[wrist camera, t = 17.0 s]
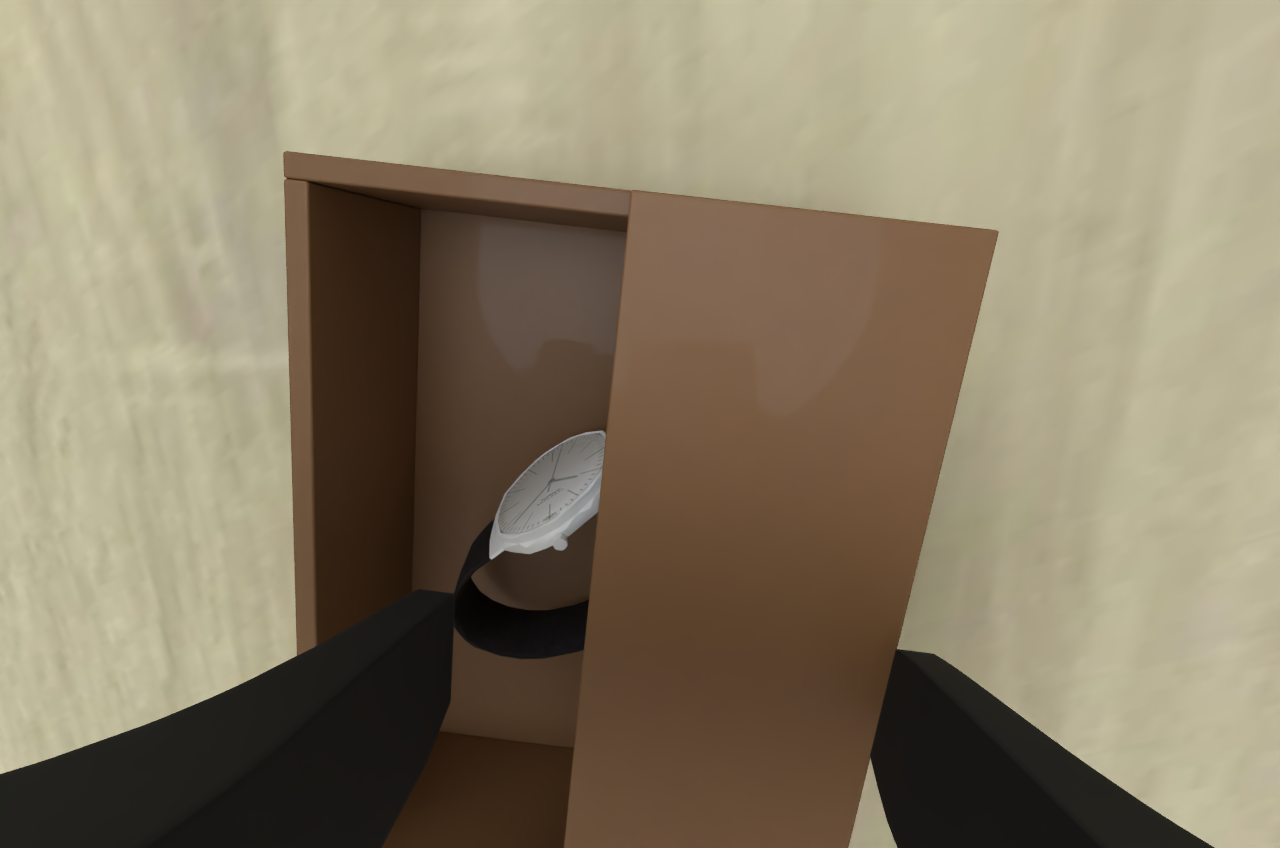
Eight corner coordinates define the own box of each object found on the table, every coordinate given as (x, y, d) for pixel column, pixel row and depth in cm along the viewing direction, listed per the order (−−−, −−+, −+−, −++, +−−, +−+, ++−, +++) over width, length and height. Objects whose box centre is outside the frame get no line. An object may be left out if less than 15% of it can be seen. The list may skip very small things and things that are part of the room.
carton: (875, 243, 14) (982, 230, 9) (770, 774, 18) (808, 962, 13) (411, 190, 14) (281, 149, 10) (400, 727, 18) (302, 894, 13)
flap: (989, 231, 9) (1000, 230, 9) (809, 981, 13) (812, 998, 12) (632, 192, 9) (630, 189, 9) (555, 939, 13) (552, 955, 13)
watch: (686, 357, 15) (691, 385, 11) (789, 513, 15) (823, 586, 12) (434, 522, 16) (368, 593, 12) (542, 658, 17) (508, 761, 13)
